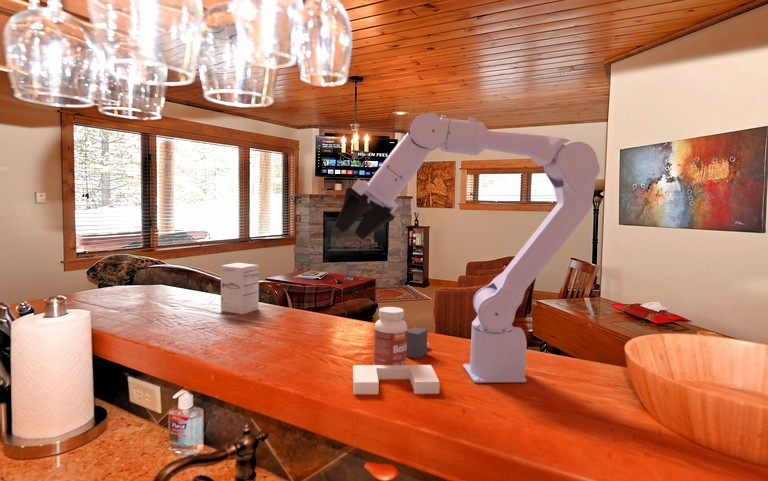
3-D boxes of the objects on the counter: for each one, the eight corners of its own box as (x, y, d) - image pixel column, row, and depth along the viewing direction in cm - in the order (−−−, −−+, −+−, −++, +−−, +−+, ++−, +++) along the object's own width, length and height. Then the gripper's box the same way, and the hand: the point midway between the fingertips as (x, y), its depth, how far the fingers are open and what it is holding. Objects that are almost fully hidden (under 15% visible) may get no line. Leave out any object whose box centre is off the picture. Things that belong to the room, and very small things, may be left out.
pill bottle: (396, 376, 81) (398, 315, 80) (367, 368, 84) (368, 310, 83) (411, 365, 86) (413, 308, 85) (383, 359, 89) (385, 304, 88)
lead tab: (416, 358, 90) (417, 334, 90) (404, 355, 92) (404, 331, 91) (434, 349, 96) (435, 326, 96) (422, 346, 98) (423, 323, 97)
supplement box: (219, 311, 122) (219, 265, 120) (238, 306, 128) (238, 261, 127) (241, 315, 119) (241, 267, 118) (259, 309, 126) (259, 264, 124)
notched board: (430, 375, 82) (430, 364, 81) (439, 393, 74) (439, 381, 74) (352, 376, 80) (353, 365, 80) (353, 394, 73) (353, 382, 73)
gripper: (394, 173, 89) (353, 227, 91) (362, 148, 76) (314, 211, 78) (420, 193, 87) (377, 248, 88) (391, 170, 73) (340, 236, 75)
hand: (349, 232), depth 83 cm, fingers open, 7 cm apart
